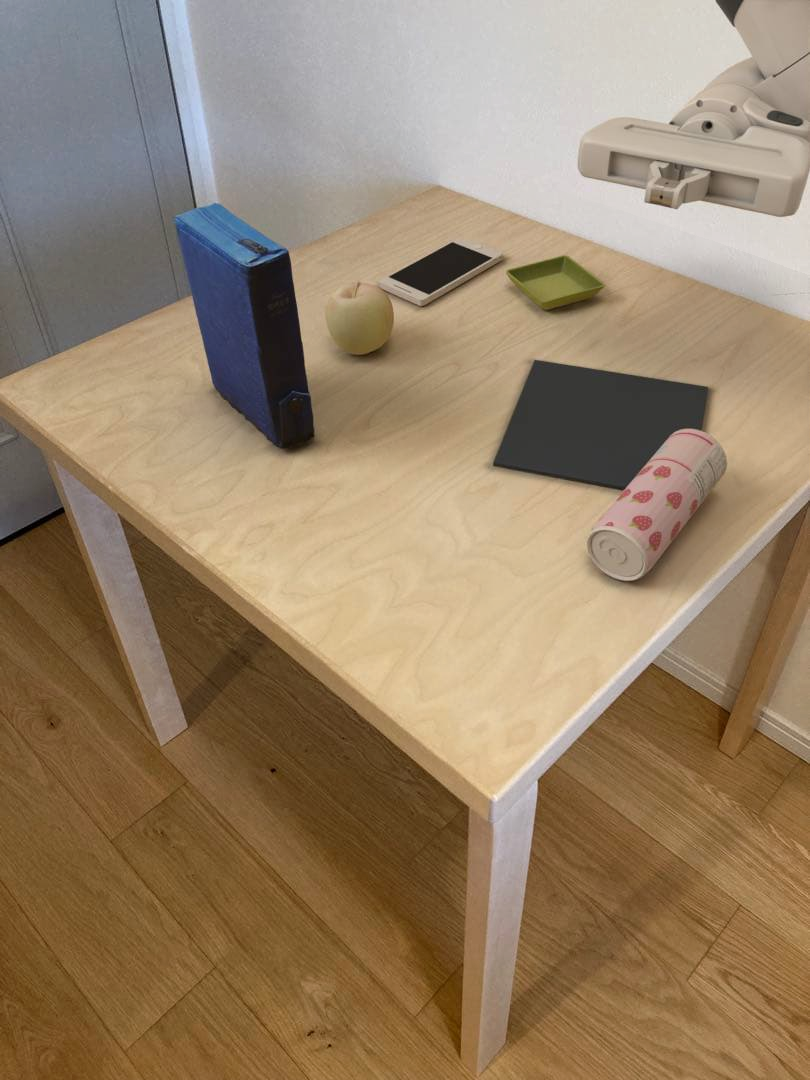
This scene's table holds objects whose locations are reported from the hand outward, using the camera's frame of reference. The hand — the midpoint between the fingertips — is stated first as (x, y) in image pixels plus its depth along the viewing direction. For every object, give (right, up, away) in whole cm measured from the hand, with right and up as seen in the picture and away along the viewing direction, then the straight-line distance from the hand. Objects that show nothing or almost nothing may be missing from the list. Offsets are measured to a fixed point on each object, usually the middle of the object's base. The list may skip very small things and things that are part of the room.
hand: (661, 197), depth 76 cm
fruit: (-27, -8, +23) cm, 36 cm away
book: (-36, -17, +14) cm, 42 cm away
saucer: (-4, 0, +30) cm, 31 cm away
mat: (-2, -18, +12) cm, 21 cm away
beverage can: (+4, -21, +3) cm, 22 cm away
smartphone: (-17, +4, +34) cm, 38 cm away
